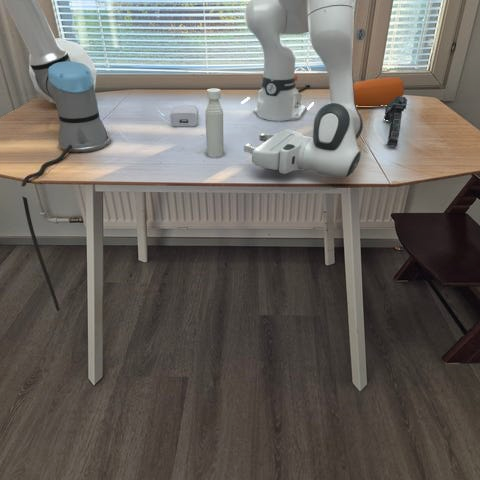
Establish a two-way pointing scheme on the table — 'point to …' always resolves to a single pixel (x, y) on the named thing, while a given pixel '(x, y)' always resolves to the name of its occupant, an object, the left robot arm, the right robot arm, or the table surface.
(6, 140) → the table surface
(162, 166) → the table surface
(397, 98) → the futuristic handgun
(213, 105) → the bottle
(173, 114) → the charger
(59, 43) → the decorative sphere
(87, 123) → the left robot arm
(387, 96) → the clog
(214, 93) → the cap
